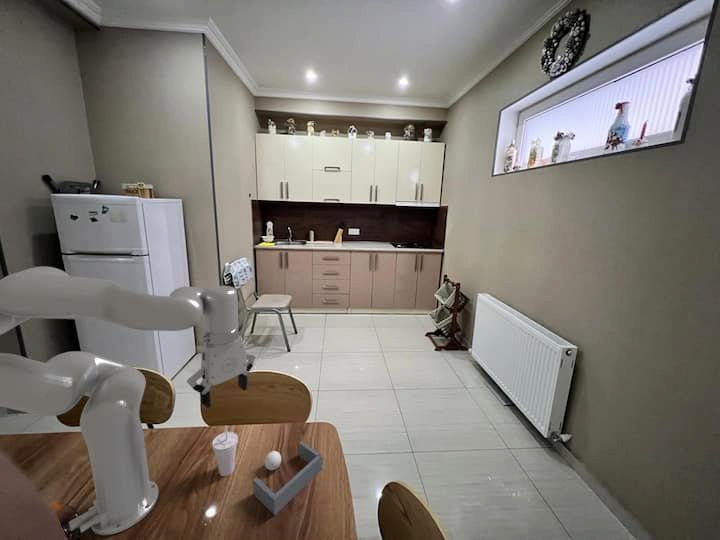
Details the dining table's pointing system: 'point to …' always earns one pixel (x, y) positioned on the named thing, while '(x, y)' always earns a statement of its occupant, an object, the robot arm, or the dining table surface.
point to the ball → (273, 460)
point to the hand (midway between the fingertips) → (225, 396)
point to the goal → (294, 485)
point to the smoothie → (225, 451)
